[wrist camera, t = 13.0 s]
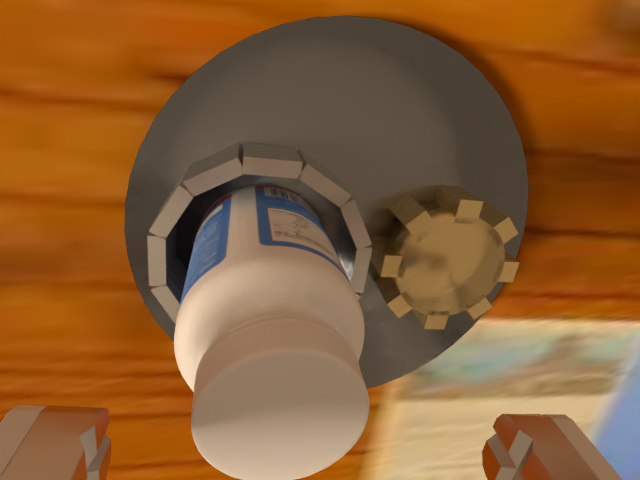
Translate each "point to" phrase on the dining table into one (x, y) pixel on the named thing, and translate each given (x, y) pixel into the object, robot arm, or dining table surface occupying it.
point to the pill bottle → (270, 339)
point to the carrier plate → (345, 174)
